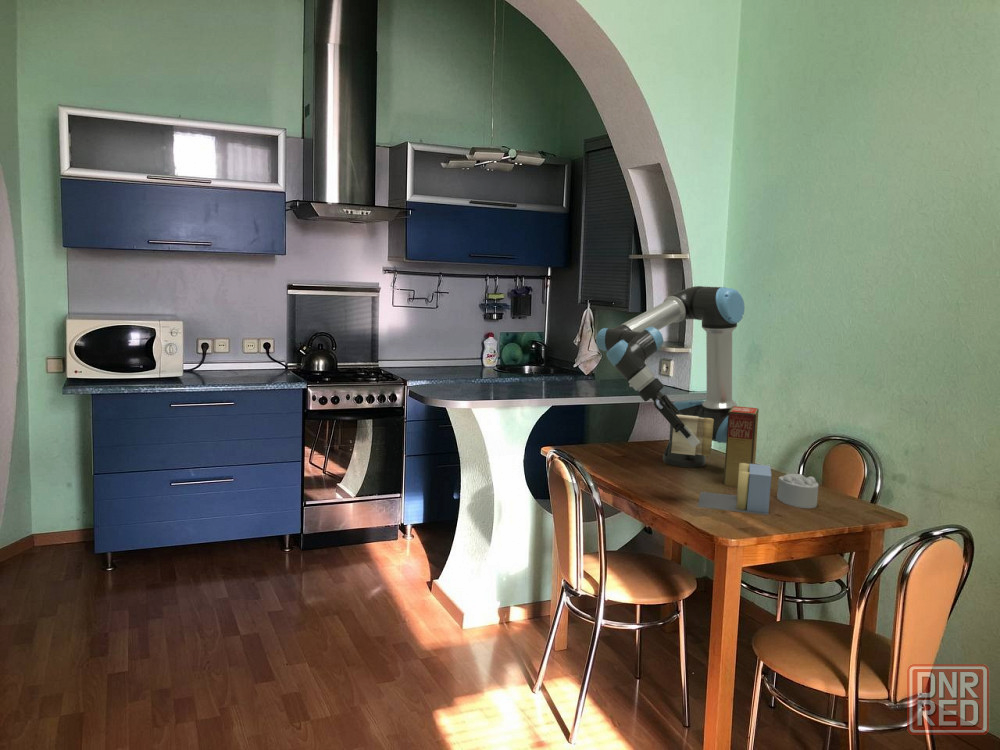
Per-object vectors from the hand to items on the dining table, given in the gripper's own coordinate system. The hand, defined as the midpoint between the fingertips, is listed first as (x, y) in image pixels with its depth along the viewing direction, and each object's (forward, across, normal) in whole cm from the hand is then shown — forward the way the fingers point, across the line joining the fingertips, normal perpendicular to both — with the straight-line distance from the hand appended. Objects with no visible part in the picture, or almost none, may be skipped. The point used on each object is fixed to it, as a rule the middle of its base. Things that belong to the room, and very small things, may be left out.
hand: (697, 443), depth 252 cm
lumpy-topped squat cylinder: (+35, -11, +9) cm, 37 cm away
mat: (+21, -1, -4) cm, 22 cm away
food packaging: (+22, -29, -4) cm, 36 cm away
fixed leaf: (+25, -1, 0) cm, 25 cm away
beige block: (+1, 0, -3) cm, 4 cm away
